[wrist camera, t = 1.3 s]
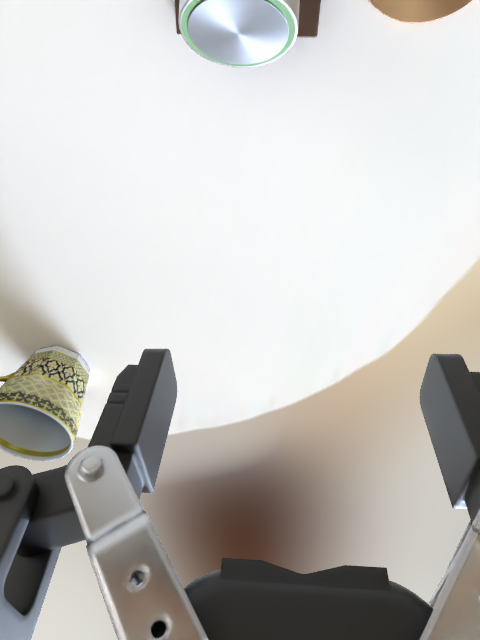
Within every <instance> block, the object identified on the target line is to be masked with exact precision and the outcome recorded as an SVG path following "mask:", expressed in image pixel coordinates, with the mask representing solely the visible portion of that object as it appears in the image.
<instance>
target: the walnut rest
mask: <svg viewBox="0 0 480 640" xmlns="http://www.w3.org/2000/svg"><path fill="white" fill-rule="evenodd" d="M320 2H321V0H300V4H299V23H298V34H297V37H317V31H318V21H319V12H320ZM179 3H180V0H175V13H176V28H177V34H181V32H180V29H179Z"/></svg>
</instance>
